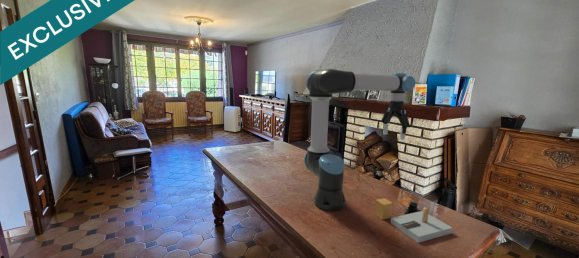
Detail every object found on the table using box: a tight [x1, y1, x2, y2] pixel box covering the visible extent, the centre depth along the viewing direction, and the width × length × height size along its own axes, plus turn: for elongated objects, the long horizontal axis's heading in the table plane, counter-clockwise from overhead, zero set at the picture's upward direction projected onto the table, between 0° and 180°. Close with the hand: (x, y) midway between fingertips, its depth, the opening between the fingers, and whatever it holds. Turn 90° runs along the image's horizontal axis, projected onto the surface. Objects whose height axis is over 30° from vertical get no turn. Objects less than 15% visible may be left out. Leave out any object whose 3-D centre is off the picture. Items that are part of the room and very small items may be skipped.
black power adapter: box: [404, 201, 422, 215], centre depth 115 cm, size 12×7×5 cm, turn 143°
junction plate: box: [390, 206, 453, 244], centre depth 102 cm, size 18×14×8 cm
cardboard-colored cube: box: [374, 197, 393, 220], centre depth 111 cm, size 5×5×7 cm
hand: (393, 136), depth 147 cm, fingers open, 13 cm apart
